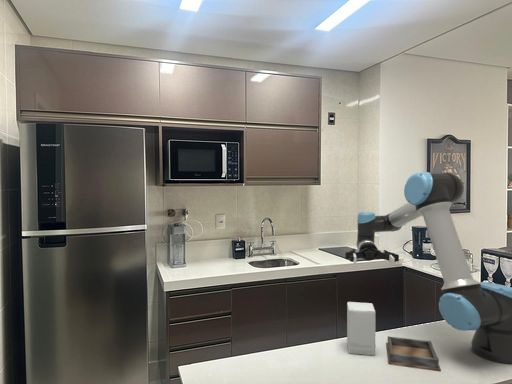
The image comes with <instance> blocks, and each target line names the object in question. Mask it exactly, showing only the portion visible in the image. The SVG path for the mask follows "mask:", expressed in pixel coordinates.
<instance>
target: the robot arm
mask: <svg viewBox="0 0 512 384" xmlns="http://www.w3.org/2000/svg"><path fill="white" fill-rule="evenodd" d="M464 191H465V186H464V182H463V180H462V179H461V178H460V177H459V176H458V175H456V174H454V173H451V172H429V171H422V172H415V173H413V174H411V175H410V176H409V177H408V178H407V180H406V183H405V184H404V188H403V192H404V193H403V195H404V198H405V200H406V201H407V203H405V204H403V205H402V206H400V207H398V208H396V209H394V210H393V211H391V212H389V213H388V214H384V215H376V214H375V212H373V211H359V212H358V214H357V239H356V249H355V248H352V249H351V250H349V251H346V252H345V255H344V256H345V257H344V258H345V260H349V262H352V263H353V264H354V265H357V260H358V259H363V260H365V261H373V260H375V259H376V260H384V261H389V263H390V265H391V266H392V267H393V266H394V267H395V263H396V262H399V260H400V255H399V254H397V253H394V252H391V251H388V250H386V249H383V251H382V250H380V249H378V247H377V246H376V244H375V238H376V237H375V233H383V232H384V233H385V232H386V233H387V232H392V233H393V232H398V231H400V230H401V229H402V228H403V226H404V225H406V224H409V223H411V222H412V221H415V220H416V219H418V218H420V217H423V220H424V225H425V226H426V230H427V233H428V235H429V239H430V242H431V245H432V249H433V252H434V255H435V257H436V261H437V264H438V267H439V270H440V274H441V276H442V280H443V286H442V287H441V288H440V290H441V292H442V295H441V296H440V298H439V302H438V309H439V313H440V314H441V316H442V319H444V321H445V322H446V323H447V324H448V325H450V327H452V328H453V329H455V330H458V331H461V332H462V331H463V332H465V331H475V332H474V333H473V336H472V339H471V347H470V348H471V351H472V352H473V353H475V354H476V355H477V356H480V357H481V358H484V359H487V360H489V361H492V362H496V363H501V364H508V365H509V364H510V365H512V287H511V286H508V285H503V284H498V283H493V282H488V281H486V282H485V281H480V282H479V281H478V280H476V279H474V278H473V275H472V272H471V269H470V266H469V263H468V260H467V257H466V255H465V251H464V249H463V246H462V244H461V240H460V238H459V237H460V236H459V235H458V232H457V229H456V227H455V226H456V225H455V223H454V220H453V217H452V214H451V211H450V208H451V206H452V205H453V204H455V203H457V202H458V201H459V200H460V199H461V198H462V197H463V195H464Z"/></svg>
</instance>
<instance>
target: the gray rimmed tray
mask: <svg viewBox="0 0 512 384" xmlns="http://www.w3.org/2000/svg"><path fill="white" fill-rule="evenodd" d="M385 347H386V355H387V364H388V365H392V366H397V367H398V366H400V367H407V368H415V369H420V370H429V371H435V372H441V370H442V369H441V366H440V364H439V363H440V361H439V358H438V355H437V352H436V350H435V348H434V346H433V343H432V341H431V340H423V339H416V338H415V339H414V338H406V337H397V336H396V337H395V336H390V335H389V336H387V342H385Z"/></svg>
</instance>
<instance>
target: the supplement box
mask: <svg viewBox="0 0 512 384" xmlns="http://www.w3.org/2000/svg"><path fill="white" fill-rule="evenodd" d="M346 310H347V311H346V312H347V313H346V317H347V318H346V320H347V321H346V322H347V323H346V329H347V330H346V332H347V334H346V338H347V339H346V341H347V343H346V345H347V351H348V354H354V355H355V354H356V355H366V356H373V357H374V356H376V314H377V313H376V310H375V306H374V304H373V303H371V302H370V303H369V302H356V301H347V303H346Z"/></svg>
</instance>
